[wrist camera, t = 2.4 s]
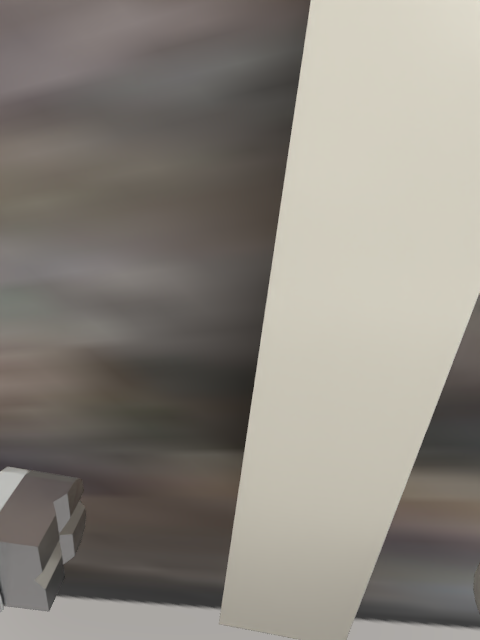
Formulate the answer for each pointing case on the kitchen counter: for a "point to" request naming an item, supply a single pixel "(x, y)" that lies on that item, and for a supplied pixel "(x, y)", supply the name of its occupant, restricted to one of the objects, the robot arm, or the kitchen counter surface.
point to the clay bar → (357, 304)
